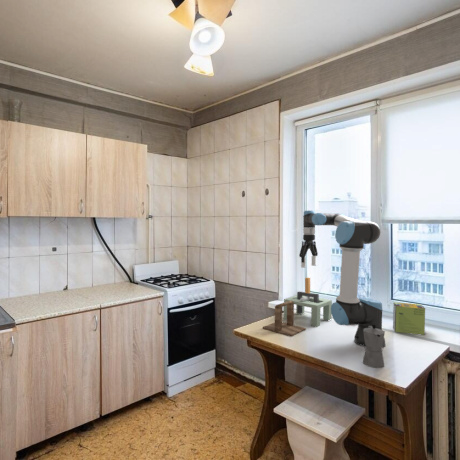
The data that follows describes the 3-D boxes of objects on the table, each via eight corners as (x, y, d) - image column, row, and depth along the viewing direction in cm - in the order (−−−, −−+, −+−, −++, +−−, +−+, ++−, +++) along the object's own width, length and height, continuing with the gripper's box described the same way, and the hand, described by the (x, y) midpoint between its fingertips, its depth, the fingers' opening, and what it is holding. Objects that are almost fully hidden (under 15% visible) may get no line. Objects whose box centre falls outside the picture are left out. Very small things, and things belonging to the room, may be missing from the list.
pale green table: (317, 326, 202) (317, 301, 202) (283, 318, 218) (284, 295, 218) (331, 319, 217) (331, 296, 216) (299, 312, 233) (299, 291, 232)
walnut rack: (291, 336, 184) (292, 308, 184) (262, 328, 197) (263, 302, 197) (306, 329, 196) (306, 303, 195) (277, 322, 209) (278, 297, 209)
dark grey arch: (317, 316, 211) (316, 279, 211) (297, 312, 221) (297, 277, 221) (318, 315, 213) (318, 278, 213) (299, 312, 223) (298, 276, 223)
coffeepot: (389, 370, 143) (390, 329, 142) (367, 369, 144) (368, 328, 143) (377, 356, 158) (378, 319, 158) (357, 355, 159) (357, 318, 159)
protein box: (425, 335, 189) (425, 308, 188) (395, 332, 194) (395, 305, 193) (420, 329, 199) (421, 304, 198) (392, 326, 204) (393, 301, 203)
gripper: (313, 233, 228) (312, 264, 228) (294, 234, 209) (293, 267, 209) (323, 234, 223) (322, 265, 223) (304, 234, 204) (304, 268, 204)
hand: (308, 266), depth 216 cm, fingers open, 13 cm apart
